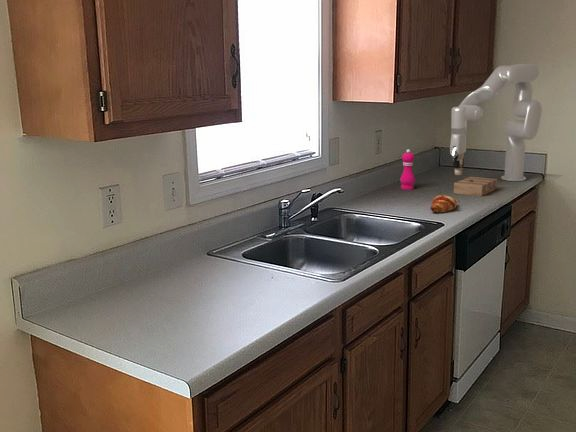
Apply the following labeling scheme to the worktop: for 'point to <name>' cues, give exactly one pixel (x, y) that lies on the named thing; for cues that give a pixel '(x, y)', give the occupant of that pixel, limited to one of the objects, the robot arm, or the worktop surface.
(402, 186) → the pepper mill
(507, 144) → the robot arm
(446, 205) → the croissant
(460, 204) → the worktop surface
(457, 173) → the peg
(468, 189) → the board
